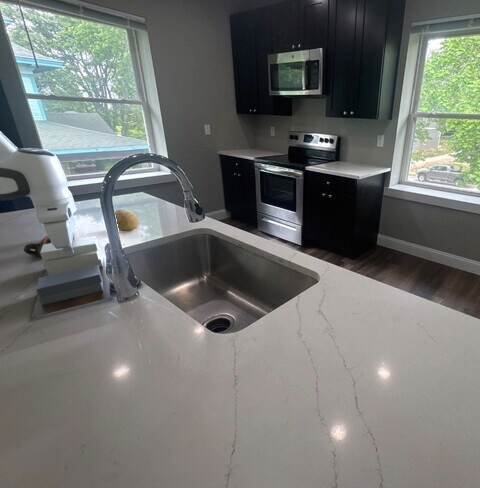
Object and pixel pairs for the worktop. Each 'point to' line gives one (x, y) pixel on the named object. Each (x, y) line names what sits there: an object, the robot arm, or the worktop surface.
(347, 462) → the worktop surface
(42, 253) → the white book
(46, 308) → the shallow tray
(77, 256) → the white stack
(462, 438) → the worktop surface
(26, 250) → the pottery mug
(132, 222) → the potato
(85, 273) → the grey stack
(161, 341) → the worktop surface
